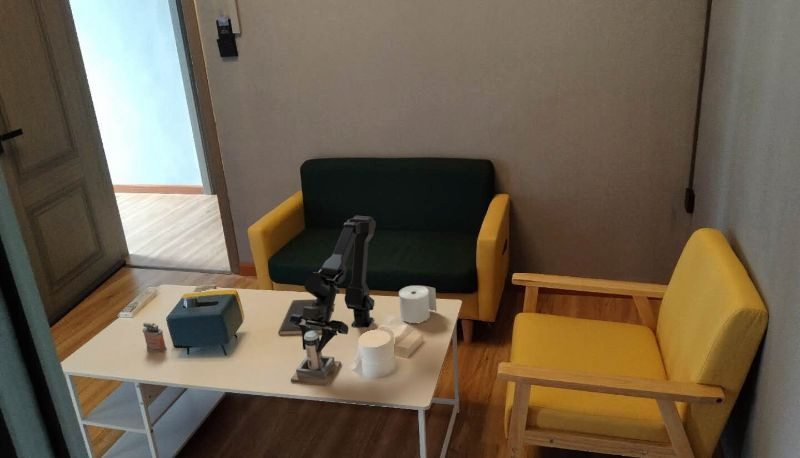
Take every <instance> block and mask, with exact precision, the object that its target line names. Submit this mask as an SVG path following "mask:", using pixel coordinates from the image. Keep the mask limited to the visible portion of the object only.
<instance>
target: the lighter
mask: <svg viewBox="0 0 800 458" xmlns="http://www.w3.org/2000/svg"><path fill="white" fill-rule="evenodd" d="M142 324H143V328H142V333H143V336H144V340H145V343H146V344H145V345H146V350H148V351H150V352H154V353H164V352H166V351H167V346H166V343H165V339H164V338H165V337H164V335H163V334H164V333H163V330H162V329H161V328H159V325H158V324H156V323H154V322H152V323H150V322H143V323H142Z"/></svg>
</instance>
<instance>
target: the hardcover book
mask: <svg viewBox="0 0 800 458" xmlns="http://www.w3.org/2000/svg"><path fill="white" fill-rule="evenodd" d="M313 302H316V298H315V299H293V300H292V301H291V302H290V303H291V304H290V306H289V308H288V310H287V312H286V313H285V317H284V319H283V321H282V323H281V325H280V328H279V329H278V336H280V335H302V332H301V329H300V327H298V326H296V325H294V324H292V323H290V322H288V321H289V318H290V316H291V315H292V314H298V315H302V313H303V307H311V306H312V303H313ZM307 319H310V318H307ZM322 325H323V324H322ZM322 328H323V327H317V326H310V329H312V330H315V331H317V332H318V333H319V334H322Z"/></svg>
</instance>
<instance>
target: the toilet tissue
mask: <svg viewBox="0 0 800 458" xmlns="http://www.w3.org/2000/svg"><path fill="white" fill-rule="evenodd" d="M436 294H437V292H436V288H435V287H431V286H426V285H409V286H405V287H403V288H401V289H400V290H399V291H398V298H399V299H398V300H399V310H400V311H399V313H400V319H401V318H402V319H403V320H405V321H406V322H409V323H408V324H411V323H417V322H422V321H425V320H426V321H428V320H429V319H430V317H431V315H430V314H431V312H430V311H433V310H435V311H434V312H437V296H436ZM429 309H430V310H429ZM429 316H430V317H429ZM428 318H429V319H428ZM402 319H401V320H402ZM427 319H428V320H427ZM426 321H425V322H426ZM406 322H405V323H406ZM422 323H423V322H422Z"/></svg>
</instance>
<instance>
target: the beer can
mask: <svg viewBox="0 0 800 458" xmlns="http://www.w3.org/2000/svg"><path fill="white" fill-rule="evenodd" d="M304 339H305V346H306V350H305V351H306V356H307V359H308V367H309V369H311V370H318V369H320V368H322V367H323V359H322V356H323V354H322V351H321V352H320V353H319V352H317V351H318V346H319V342H320V339H321V337H320V333H318V332H317V331H315V330H311V331H308V332H306V333H305V336H304Z"/></svg>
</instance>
